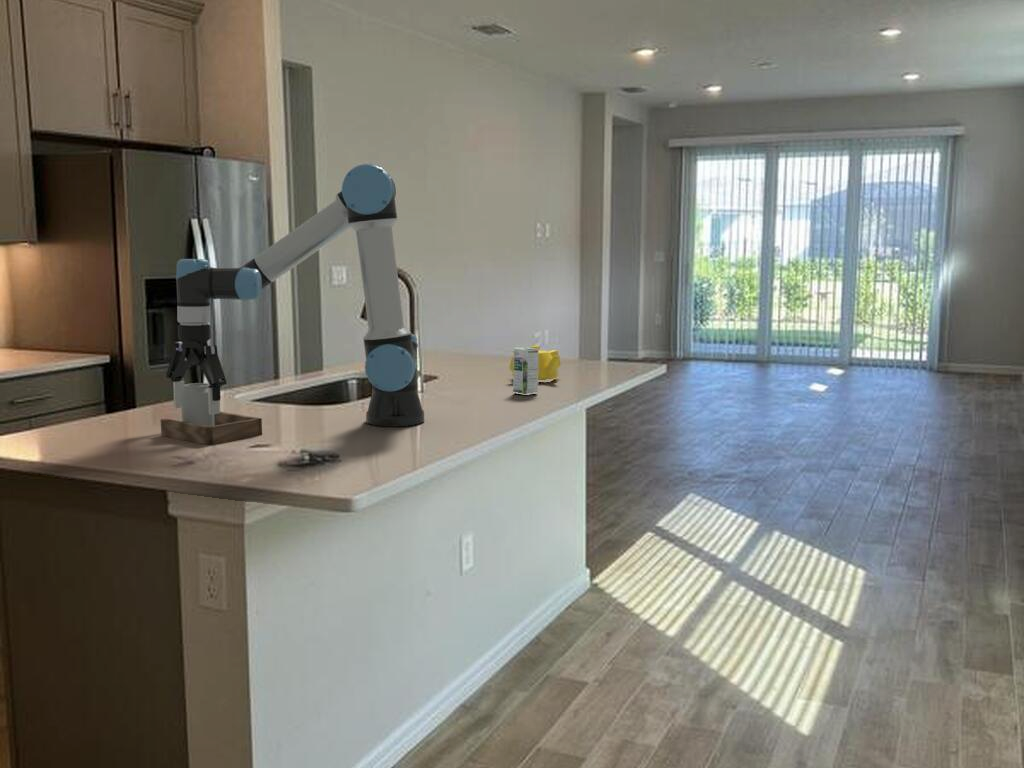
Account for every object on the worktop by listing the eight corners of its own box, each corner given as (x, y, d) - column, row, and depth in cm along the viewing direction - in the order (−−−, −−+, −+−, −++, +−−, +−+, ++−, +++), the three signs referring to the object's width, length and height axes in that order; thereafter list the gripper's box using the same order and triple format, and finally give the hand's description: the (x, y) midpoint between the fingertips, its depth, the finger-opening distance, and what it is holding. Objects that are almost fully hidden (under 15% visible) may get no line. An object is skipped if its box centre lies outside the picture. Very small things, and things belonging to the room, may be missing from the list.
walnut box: (262, 434, 234) (261, 418, 234) (208, 445, 222) (208, 427, 221) (214, 426, 245) (214, 410, 244) (161, 435, 232) (160, 419, 232)
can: (203, 428, 242) (201, 381, 240) (221, 432, 237) (219, 384, 235) (176, 433, 236) (174, 384, 234) (193, 437, 231) (191, 387, 229)
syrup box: (512, 394, 300) (512, 347, 298) (526, 392, 304) (526, 346, 302) (524, 396, 295) (525, 349, 293) (538, 394, 299) (539, 347, 297)
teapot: (560, 378, 337) (560, 343, 336) (559, 384, 321) (559, 348, 319) (512, 377, 339) (512, 343, 337) (508, 384, 322) (508, 348, 320)
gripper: (240, 326, 228) (242, 414, 231) (176, 319, 243) (178, 403, 246) (214, 327, 222) (216, 418, 225) (149, 321, 237) (152, 406, 240)
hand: (196, 410), depth 236 cm, fingers open, 13 cm apart
